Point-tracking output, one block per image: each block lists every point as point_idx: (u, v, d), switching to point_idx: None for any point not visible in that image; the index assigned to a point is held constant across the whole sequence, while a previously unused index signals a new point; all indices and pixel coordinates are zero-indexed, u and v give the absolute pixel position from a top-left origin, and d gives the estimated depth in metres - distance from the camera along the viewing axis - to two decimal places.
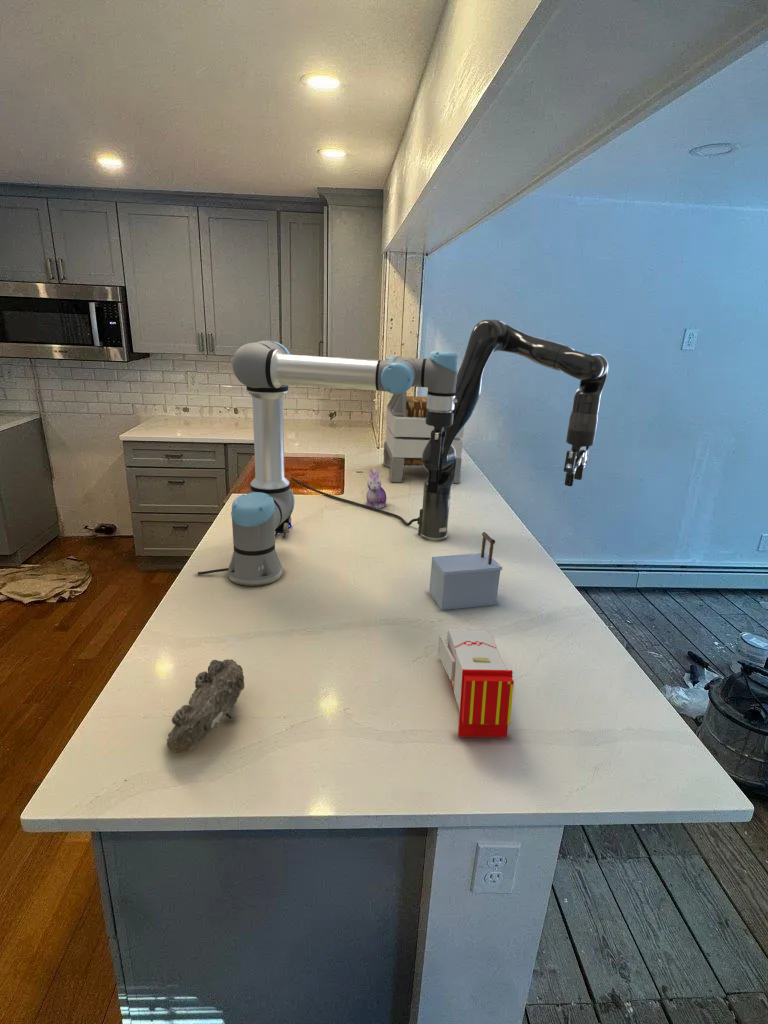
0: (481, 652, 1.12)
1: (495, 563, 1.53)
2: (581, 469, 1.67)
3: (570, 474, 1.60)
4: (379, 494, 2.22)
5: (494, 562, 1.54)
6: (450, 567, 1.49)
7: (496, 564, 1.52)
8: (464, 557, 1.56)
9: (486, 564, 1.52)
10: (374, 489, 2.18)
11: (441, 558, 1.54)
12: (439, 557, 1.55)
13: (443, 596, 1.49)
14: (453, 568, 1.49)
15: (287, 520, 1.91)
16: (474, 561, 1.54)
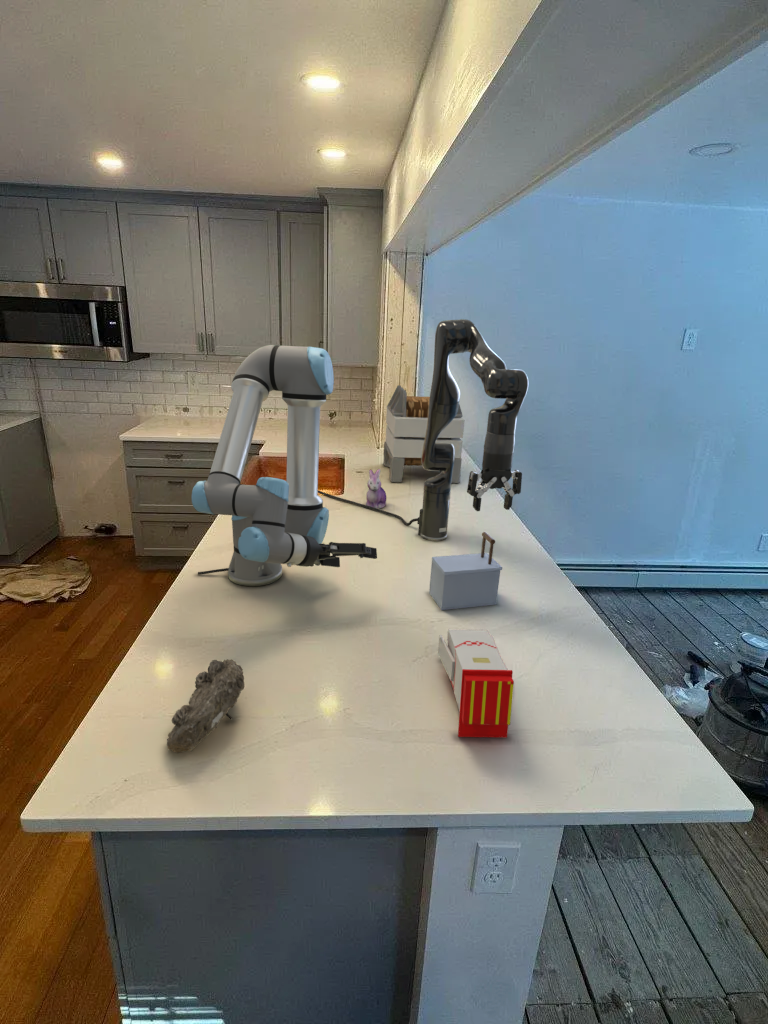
0: (481, 652, 1.12)
1: (495, 563, 1.53)
2: None
3: None
4: (379, 494, 2.22)
5: (494, 562, 1.54)
6: (450, 567, 1.49)
7: (496, 564, 1.52)
8: (464, 557, 1.56)
9: (486, 564, 1.52)
10: (374, 489, 2.18)
11: (441, 558, 1.54)
12: (439, 557, 1.55)
13: (443, 596, 1.49)
14: (453, 568, 1.49)
15: None
16: (474, 561, 1.54)
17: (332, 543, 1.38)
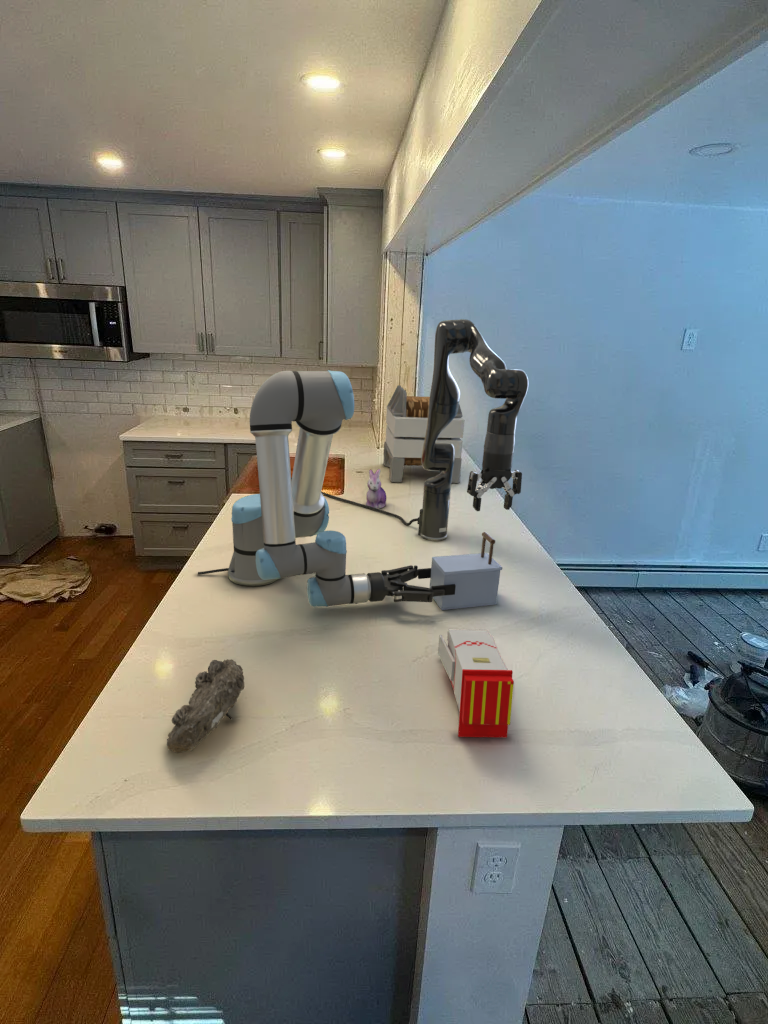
0: (481, 652, 1.12)
1: (495, 563, 1.53)
2: None
3: None
4: (379, 494, 2.22)
5: (494, 562, 1.54)
6: (451, 567, 1.49)
7: (496, 564, 1.52)
8: (464, 557, 1.56)
9: (486, 564, 1.52)
10: (374, 489, 2.18)
11: (441, 558, 1.54)
12: (439, 557, 1.55)
13: (443, 596, 1.49)
14: (453, 568, 1.49)
15: None
16: (474, 561, 1.54)
17: (397, 594, 1.43)
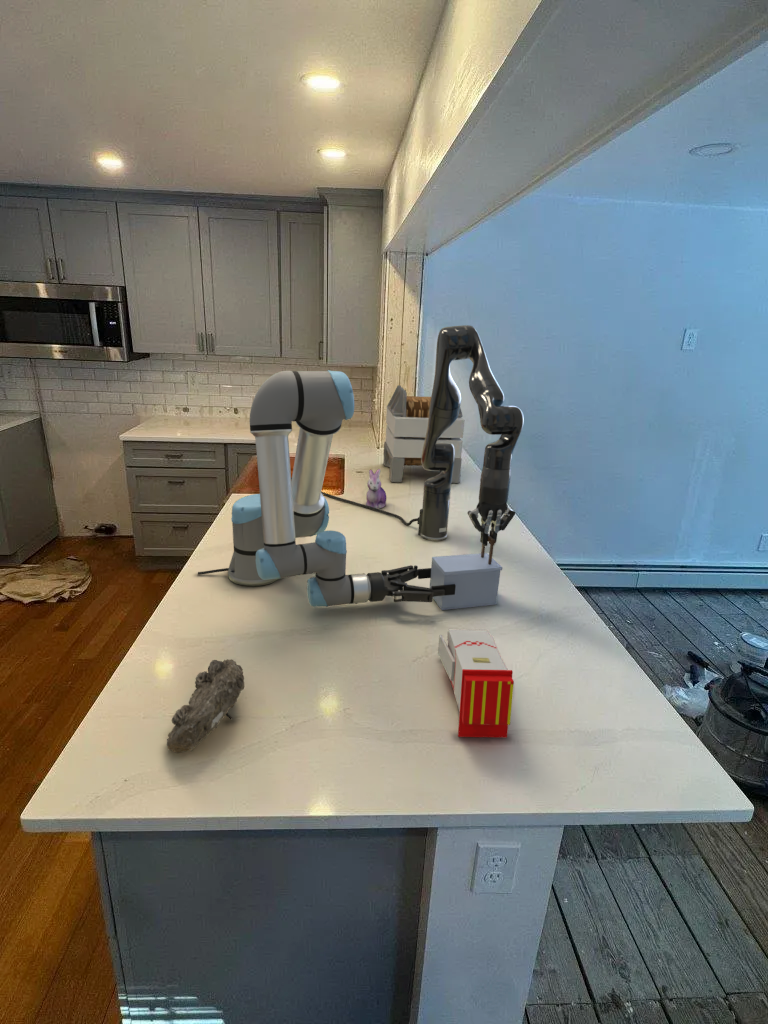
0: (481, 652, 1.12)
1: (495, 563, 1.53)
2: None
3: None
4: (379, 494, 2.22)
5: (494, 562, 1.54)
6: (451, 567, 1.49)
7: (496, 564, 1.52)
8: (464, 557, 1.56)
9: (486, 564, 1.52)
10: (374, 489, 2.18)
11: (441, 558, 1.54)
12: (439, 557, 1.55)
13: (443, 596, 1.49)
14: (453, 568, 1.49)
15: None
16: (474, 561, 1.54)
17: (397, 594, 1.43)
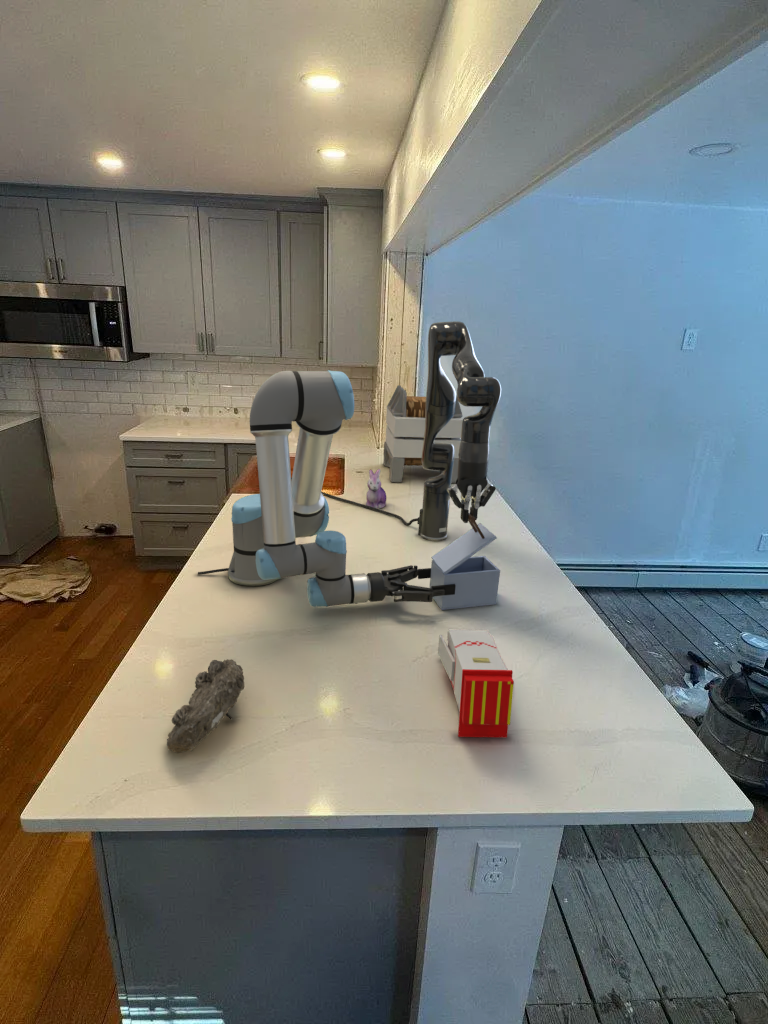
0: (481, 652, 1.12)
1: (488, 534, 1.49)
2: None
3: None
4: (379, 494, 2.22)
5: (487, 533, 1.50)
6: (448, 563, 1.49)
7: (489, 534, 1.49)
8: (460, 541, 1.54)
9: (480, 540, 1.49)
10: (374, 489, 2.18)
11: (439, 555, 1.54)
12: (437, 554, 1.55)
13: (443, 596, 1.49)
14: (451, 562, 1.48)
15: None
16: (469, 542, 1.51)
17: (397, 594, 1.43)
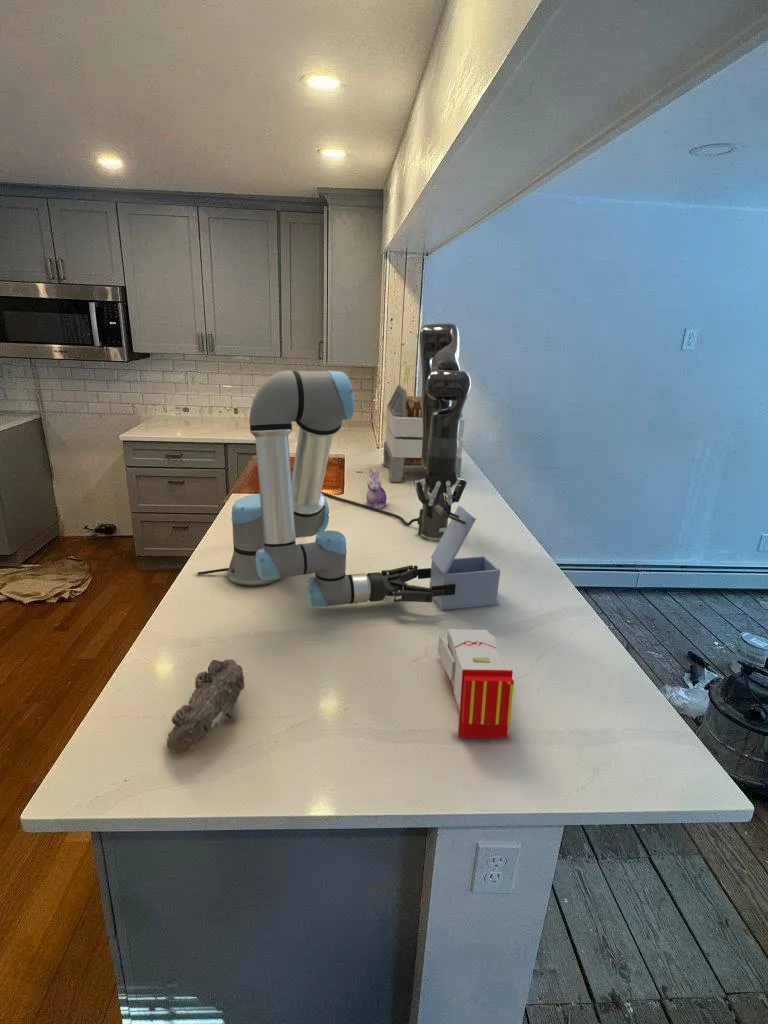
0: (481, 652, 1.12)
1: (468, 517, 1.46)
2: None
3: None
4: (379, 494, 2.22)
5: (467, 516, 1.46)
6: (444, 561, 1.48)
7: (469, 517, 1.45)
8: (448, 532, 1.52)
9: (463, 526, 1.46)
10: (374, 489, 2.18)
11: (436, 553, 1.53)
12: (434, 552, 1.54)
13: (443, 596, 1.49)
14: (446, 560, 1.47)
15: None
16: (455, 531, 1.49)
17: (397, 594, 1.43)
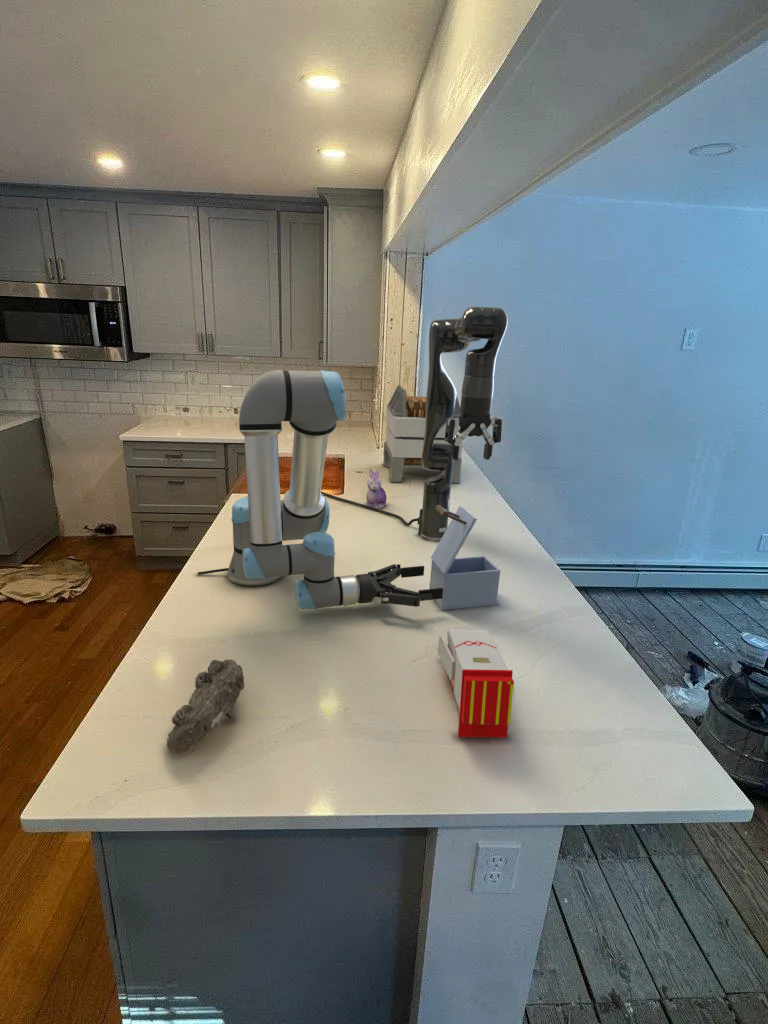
0: (481, 652, 1.12)
1: (468, 517, 1.46)
2: None
3: None
4: (379, 494, 2.22)
5: (467, 516, 1.46)
6: (445, 561, 1.48)
7: (469, 518, 1.45)
8: (448, 532, 1.52)
9: (464, 526, 1.46)
10: (374, 489, 2.18)
11: (436, 553, 1.53)
12: (434, 552, 1.54)
13: (444, 596, 1.49)
14: (446, 560, 1.47)
15: None
16: (455, 531, 1.49)
17: (383, 595, 1.42)
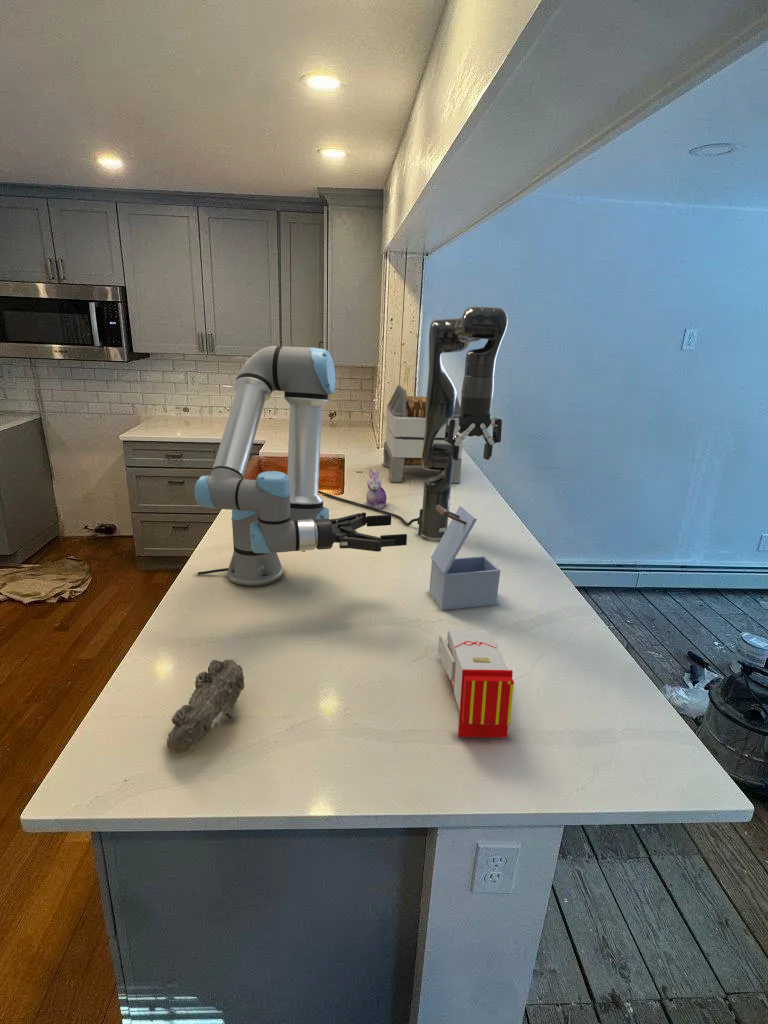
0: (481, 652, 1.12)
1: (468, 517, 1.46)
2: None
3: None
4: (379, 494, 2.22)
5: (467, 516, 1.46)
6: (445, 561, 1.48)
7: (469, 518, 1.45)
8: (448, 532, 1.52)
9: (464, 526, 1.46)
10: (374, 489, 2.18)
11: (436, 553, 1.53)
12: (434, 552, 1.54)
13: (444, 596, 1.49)
14: (446, 560, 1.47)
15: None
16: (455, 531, 1.49)
17: (342, 539, 1.33)
